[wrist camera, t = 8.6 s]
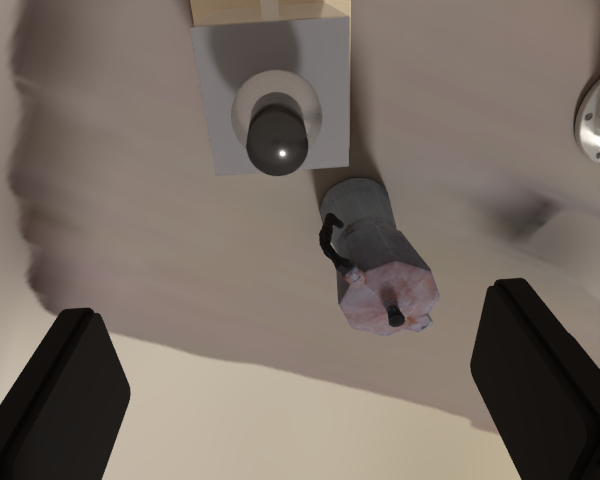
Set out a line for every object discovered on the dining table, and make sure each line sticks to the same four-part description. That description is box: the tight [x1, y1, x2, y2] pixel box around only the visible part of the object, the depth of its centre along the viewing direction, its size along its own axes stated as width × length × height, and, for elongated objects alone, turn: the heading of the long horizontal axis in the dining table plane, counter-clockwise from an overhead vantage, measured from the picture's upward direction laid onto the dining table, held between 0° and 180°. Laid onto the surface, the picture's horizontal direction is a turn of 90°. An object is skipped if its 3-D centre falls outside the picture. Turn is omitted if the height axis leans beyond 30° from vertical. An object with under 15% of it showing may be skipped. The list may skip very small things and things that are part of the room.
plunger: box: [231, 68, 322, 176], centre depth 32 cm, size 8×8×23 cm
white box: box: [190, 0, 351, 176], centre depth 37 cm, size 15×19×18 cm
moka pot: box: [319, 178, 439, 336], centre depth 45 cm, size 10×15×20 cm, turn 51°
